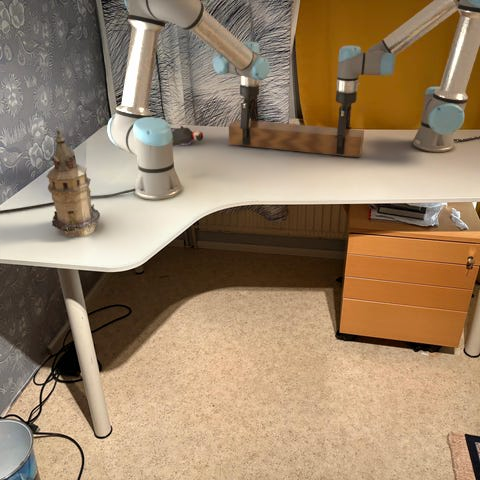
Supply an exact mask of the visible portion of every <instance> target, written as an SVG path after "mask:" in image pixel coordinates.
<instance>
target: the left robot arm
mask: <svg viewBox="0 0 480 480" xmlns="http://www.w3.org/2000/svg"><path fill="white" fill-rule="evenodd" d="M123 3H124V6H125V8H126V10H127V12H128V16H127V21H128V23H129V24H130V26H131V31H130V38H129V44H128V45H129V46H128V52H127V53H128V54H127V61H126V68H125V76H124V82H123V83H124V84H123V90H122V91H123V92H122V97H121V103H120V104H119V105H117V107H116V108H115V113H114V114H113V115H112V117H111V118H110V119H109V120H108V123H107V128H106V129H107V135H108V138H109V140H110V141H111V142H112V144H114V145H115V146H116V147H117V148H119V149H120V150H122V151H125V152H128V153H130V154H132V155H135V156H136V161H137V175H136V179H135V184H134V188H132V189H126V190H122V191H119V192H118V191H117V192H115V193H110V194H109V193H108V194H97V195H90V197H91V199H101V198H103V199H104V198H111V197H116V196H117V197H118V196H120V195H123V194H128V193H132V192H133V193H135V195H136V196H137V197H138V198H141V199H143V200H148V201H161V200H168V199H171V198H174V197H176V196H178V195H179V194H180V193H181V192H182V183H181V180H180V177H179V176H178V173H177V171H176V169H175V161H174V160H175V159H174V158H175V157H174V146H173V145H172V132H171V128H172V127H171V124H170V123H169V122H168V121H167V120H165V119H163V118H161V117H153V116H152V112H151V111H150V108H149V105H150V96H151V91H152V85H153V76H154V69H155V65H156V64H155V63H156V57H157V51H158V50H157V49H158V43H159V42H158V41H159V36H160V33H161V32H162V31H163V30H164V29H165V28H166V23H167V22H168V23H172V24H174V25H177V26H178V27H180V29H182V30H184V31H186V32H188V31H190V32H191V33H192V34H193V35H195V36H196V37H197V38H198V39H200V40H201V41H202V42H204V43H205V45H207V46H208V47H209V48H211V49H212V50H213V51H215V52H216V53H215V54H214V56H213V58H212V67H213V70H214V71H215V73H216V74H218V75H221V76H223V75H227V74H231V75H236V76H239V95H240V96H242V97H243V101H242V102H241V103H240V110H241V111H240V112H241V113H240V120H241V125H240V129H242V140H243V145H250V129H249V121H260V118H259V104H258V103H259V101H258V98H259V97H258V95H260V81H262V80H265V79H266V78H267V77H268V75H269V73H270V71H271V70H270V69H271V65H270V62H269V60H268V59H267V58H265V57H263V56H260V53H261V52H260V44H259V43H258V42H257V41H251V40H250V41H240V40H239V39H238V38H237V37H236V36H235V35H234V34H232V33H231V32H230V31H229V30H228V29H227V28H226V27H225V26H223V25H222V24H221V22H219V20H217V19H216V18H214V16H212V15H211V14H210V13H209V12H208V11H207V10H206V8H205V5H204V3H203V2H202V1H201V0H123ZM243 145H242V146H243ZM49 206H55V205H54V201H53V202H47V203H41V204H40V203H39V204H33V205H27V206H22V207H15V208H8V209H2V210H0V214H4V213H11V212H19V211H24V210H30V209H37V208H42V207H49Z"/></svg>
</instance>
